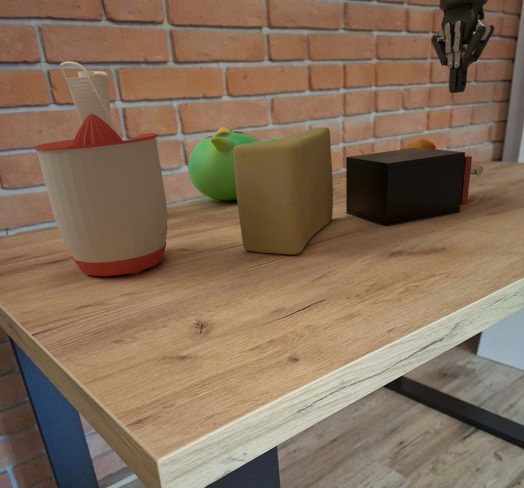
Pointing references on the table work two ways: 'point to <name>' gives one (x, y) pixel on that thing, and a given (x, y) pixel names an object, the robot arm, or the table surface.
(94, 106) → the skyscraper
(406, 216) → the cabinet
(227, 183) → the toy bird
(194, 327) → the table surface
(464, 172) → the drawer
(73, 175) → the citrus juicer
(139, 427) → the table surface
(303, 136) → the cheese
